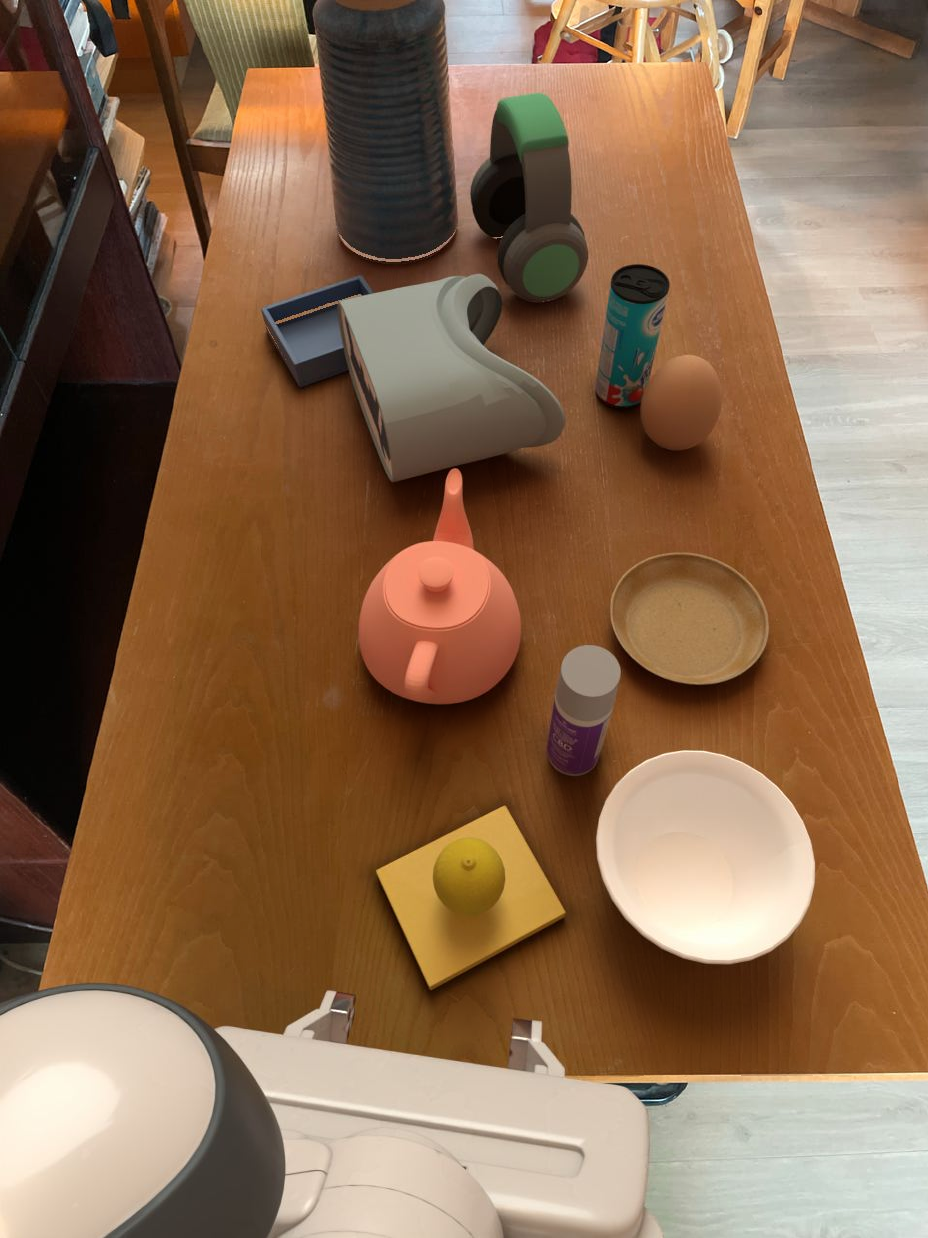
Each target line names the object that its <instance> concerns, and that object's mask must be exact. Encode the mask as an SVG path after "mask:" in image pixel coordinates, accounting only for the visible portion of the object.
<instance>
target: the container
mask: <svg viewBox="0 0 928 1238" xmlns="http://www.w3.org/2000/svg"><path fill="white" fill-rule="evenodd" d="M621 674H622V671H621V666H620V664H619V661H618V659H617V658H616V656H615V655H614V654H613V653H612V652H611V651H609V650H607V649H606V648H604V647H601V646H598V645H593V644H584V645H580V646H577V647H575V648H573V649H571V650H570V651H569V652H568V653H566V655H565V656H564V658H563V659H562V661H561V666H560V671H559V674H558V680H557V685H556V689H555V693H554V700H553V706H552V712H551V718H550V725H549V731H548V739H547V745H546V756H547V759H548V761H549V763H550V764H551V766H552V767H553V768H554V769H555V770H556V771H558V772H559V773H561V774H563V775H566V776H569V777H570V776H571V777H578V776H579V777H580V776H583V775H586V774H588V773H590V772H591V771H592V770H593V769H594V768H595V767H596V765H597V764H598V761H599V759H600V756H601V752H602V749H603V746H604V742H605V739H606V735H607V732H608V729H609V725H610V721H611V718H612V715H613V712H614V711H613V710H614V706H615V702H616V699H617V693H618V689H619V685H620V680H621Z"/></svg>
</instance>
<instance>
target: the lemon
mask: <svg viewBox="0 0 928 1238" xmlns="http://www.w3.org/2000/svg"><path fill="white" fill-rule="evenodd" d="M433 884H434V889H435V891H436V894H437V896H438V898H439V899H440V901H441V902H442V903H443V905H444V906H446V907H447V908H448V909H449V910H451V911H452V912H455V913H457V914H459V915H465V916H474V915H479V914H481V913H484V912H486V911H488V910H489V909H490V908H492V907H493V906H494V905H495V904H496V902H497V901H498V900H499V898H500V896H501V894H502V892H503V890H504V885H505V868H504V865H503V862H502V859H501V858H500V856H499V854H498V853H497V851H496V850H495V849H494V848H493V847H492V846H491V845H490V844H488V843H486V842H484V841H483V840H480V839H476V838H462V839H457V840H455V841H453V842H452V843H450V844H449V845H447V846H446V847H445V848H444V849H443V850H442V851H441V853H440V854H439V856H438V857H437V860H436V862H435V865H434V869H433Z"/></svg>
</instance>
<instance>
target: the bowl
mask: <svg viewBox="0 0 928 1238" xmlns="http://www.w3.org/2000/svg"><path fill="white" fill-rule="evenodd" d="M602 806H603V807H602V809H601V811H600V815H599V818H598V824H597V828H596V829H597V830H596V834H595V835H596V836H595V843H596V845H595V846H596V860H597V864H598V868H599V871H600V875H601V879H602V882H603V885H604V886H605V888H606V891H607V893H608V895H609V897H610V899H611V901H612V902H613V903H614V905H615V906H616V908H617V909H618V911H619V912H620V914H621V915H622V916H623V918H624V919H625V920H626V921H627V922H628V923H629V924H630V925H631V926H632V927H633V928H634V929H635V930H636V931H637V932H638V933H639V934H640V935H641V936H642V937H644V938H645V939H646V940H648V941H649V942H651V943H653V944H654V945H656V946H657V947H658V948H660V949H661V950H664V951H666V952H669V953H670V954H673V955H674V956H677V957H679V958H682V959H684V960H689V961H693V962H697V963H701V964H707V965H708V964H710V965H733V964H738V963H743V962H749V961H752V960H755V959H758V958H759V957H762V956H764V955H766V954H768V953H771V952H772V951H773V950H775V949H776V948H778V947H779V946H781V945H782V944H783V943H785V942H786V941H788V939H789V938H790V937H791V936H792V935H793V933H794V932H795V930H797V928H798V927H799V926H800V925H801V923H802V921H803V919H804V917H805V915H806V913H807V912H808V909H809V907H810V906H811V901H812V896H813V893H814V892H813V891H814V887H815V880H816V879H815V878H816V860H815V856H814V855H815V854H814V850H813V845H812V840H811V838H810V836H809V833H808V831H807V828H806V826H805V822H804V820H803V819H802V817H801V815H800V814H799V813H798V811H797V809H796V807H795V806H794V804H793V803H792V802H791V800H790V799H789V798H788V797H787V796H786V795H785V793H784V792H783V791H782V790H781V788H779V787H778V786H777V785H776V784H775V783H774V782H773V781H771V779H769V778H768V777H767V776H765V775H764V774H763V773H761V772H760V771H758V770H757V769H755V768H753V767H752V766H750V765H748V764H747V763H745V762H743V761H740V760H738V759H736V758H732V757H730V756H727V755H725V754H721V753H716V752H711V751H705V750H679V751H678V750H677V751H671V752H665V753H662V754H659V755H657V756H654V757H651V758H649V759H646V760H644V761H643V762H641V763H640V764H638V765H636V766H635V767H633V768H631V769H630V770H628V772H627V773H626V774H624V776H622V777H621V778H620V780H618V782H616V784H615V785H614V787H613V788H612V790H611V791H610V793H609V795H608V796H607V797H606V799H605V801H604V805H602Z"/></svg>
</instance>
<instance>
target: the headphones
mask: <svg viewBox="0 0 928 1238" xmlns="http://www.w3.org/2000/svg"><path fill="white" fill-rule="evenodd" d="M569 144H570V142H569V137H568V132H567V128H566V126H565V123H564V121H563V118H562V116H561V114H560V112H559V110H558V108H557V107H556V105H555V104H554V101H552V99H551V98H550V97H549V96H548V95H547V94H545V93H543V92H533V93H527V94H521V95H515V96H509V97H503V98H501V99H500V100H499V101H498V102H497V105H496V109H495V111H494V114H493V118H492V123H491V130H490V144H489V145H490V146H489V157H488V158H487V159H486V160H485V161H484V162H483V163H482V164H481V165H480V166H479V168H478V169H477V171H476V172H475V174H474V175H473V178H472V181H471V184H470V193H469V196H470V204H471V208H472V214H473V216H474V219H475V221H476V224H477V225H478V227H479V229H480V230H481V231H482V232H483V233H484V234H485V235H486V236H488V237H490V238H491V237H501V236H503V237H502V238H497V239H496V240H497V241H499V244H498V247H497V253H496V254H497V255H496V263H497V268H498V270H499V273H500V276H501V277H502V279H503V281H504V282H505V284H506V285H507V286H509V288H510V289H511V291H512V292H513V293H514V294H515V295H516V296H517V298H520V299H522V300H524V301H527V302H530V303H547V302H551V301H555V300H557V299H559V298H561V297H563V296H565V295H566V294H568V293H569V292H570V291H572V290H573V289H574V288H575V287H576V285H577V284H578V283H579V282H580V280H581V279H582V277H583V275H584V273H585V271H586V269H587V266H588V262H589V248H588V244H587V243H588V242H587V240H586V237H585V232H584V230H583V228H582V225H581V224H580V222H579V220H578V219H577V218H576V217H575V216H574V215H573V214H572V194H573V193H572V192H573V191H572V189H573V188H572V187H573V186H572V168H571V167H572V166H571V159H570V152H569V151H570V150H569ZM558 297H559V298H558ZM556 298H557V299H556ZM553 299H554V300H553ZM548 300H550V301H548ZM543 301H544V302H543Z"/></svg>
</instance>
